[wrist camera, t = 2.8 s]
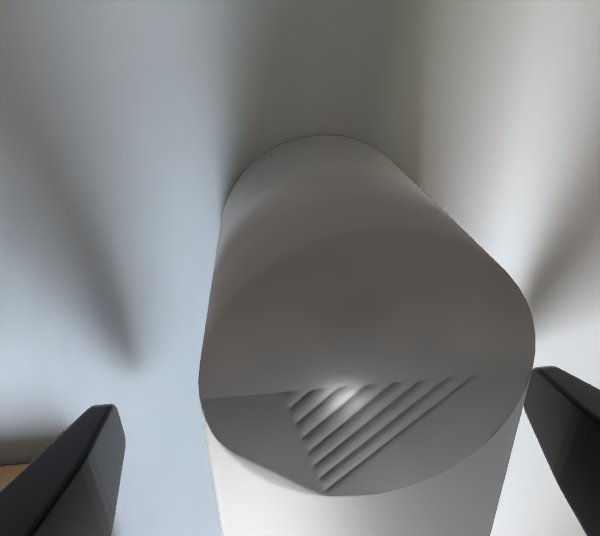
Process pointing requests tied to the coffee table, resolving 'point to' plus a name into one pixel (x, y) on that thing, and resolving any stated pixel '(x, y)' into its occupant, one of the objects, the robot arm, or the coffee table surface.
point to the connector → (356, 354)
